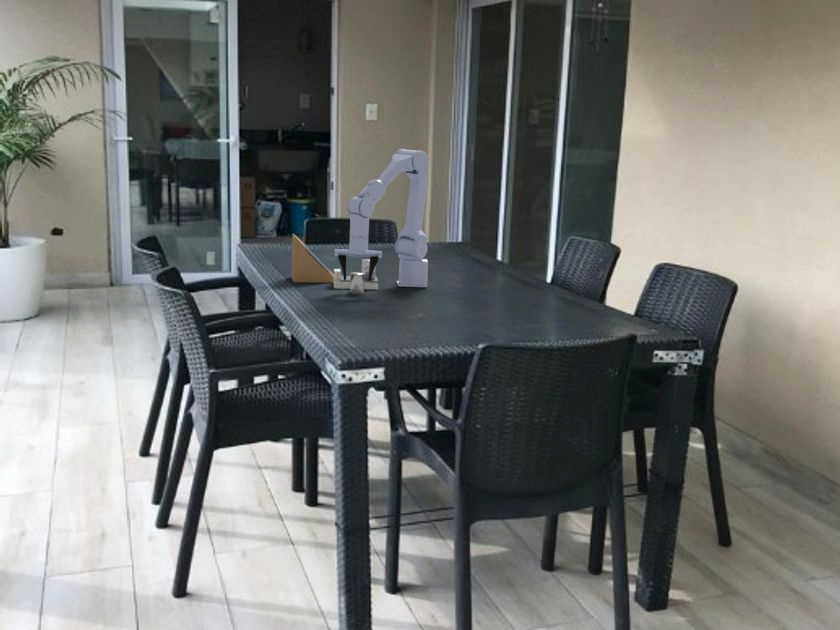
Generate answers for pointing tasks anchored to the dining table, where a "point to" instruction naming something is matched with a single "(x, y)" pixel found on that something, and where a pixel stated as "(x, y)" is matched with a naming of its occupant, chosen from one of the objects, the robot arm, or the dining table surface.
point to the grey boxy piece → (345, 284)
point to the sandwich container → (307, 264)
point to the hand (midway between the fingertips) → (357, 279)
